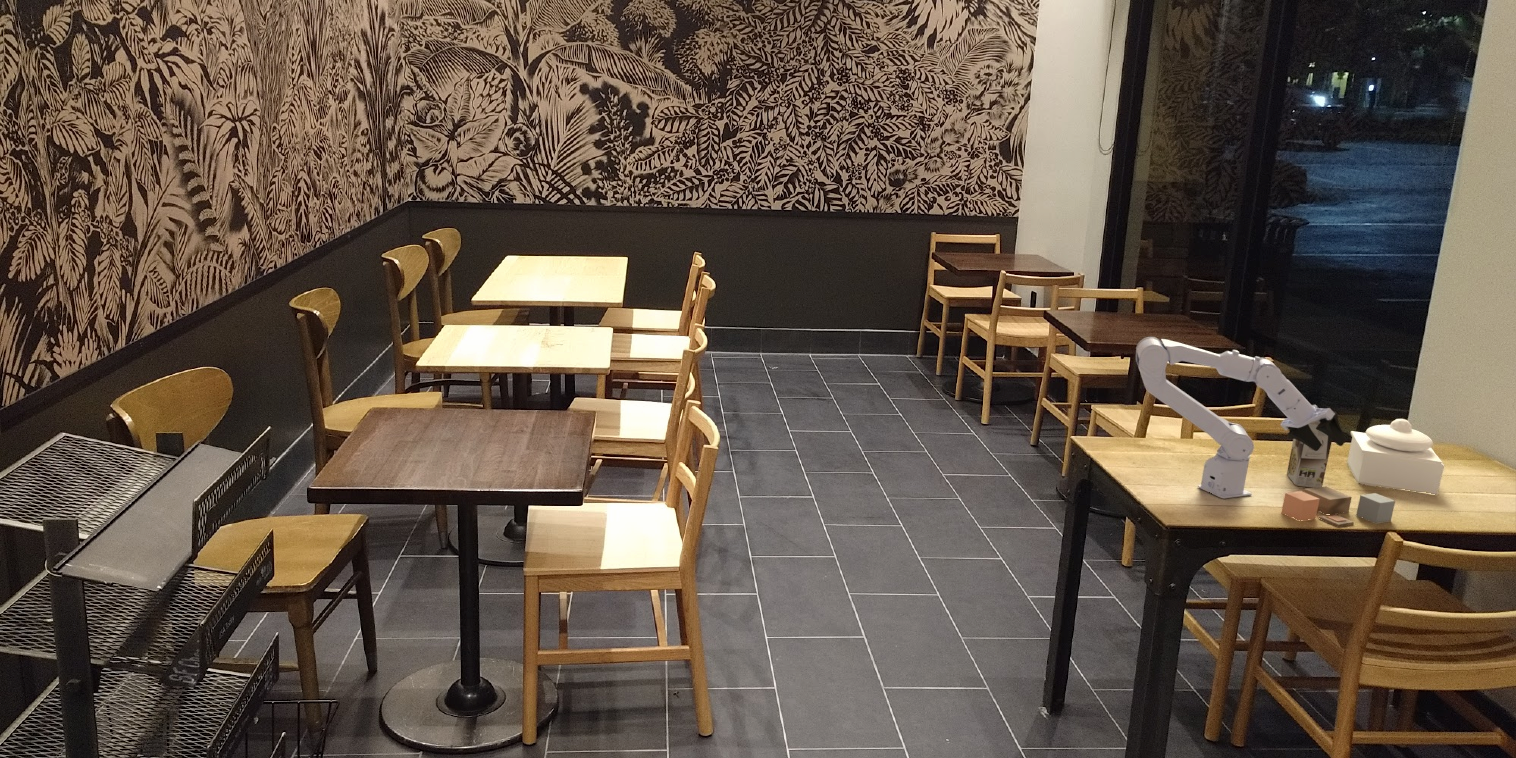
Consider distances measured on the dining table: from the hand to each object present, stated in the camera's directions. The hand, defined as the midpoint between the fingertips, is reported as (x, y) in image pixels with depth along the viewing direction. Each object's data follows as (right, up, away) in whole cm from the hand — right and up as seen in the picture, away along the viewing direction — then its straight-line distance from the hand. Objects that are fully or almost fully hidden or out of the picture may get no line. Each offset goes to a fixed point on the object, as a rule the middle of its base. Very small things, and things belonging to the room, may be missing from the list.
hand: (1330, 445), depth 257 cm
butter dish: (+28, -10, +25) cm, 39 cm away
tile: (-3, -17, -7) cm, 18 cm away
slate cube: (+8, -16, -3) cm, 19 cm away
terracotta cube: (-10, -16, -5) cm, 19 cm away
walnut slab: (-1, -15, +1) cm, 15 cm away
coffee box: (+3, -10, +19) cm, 21 cm away
